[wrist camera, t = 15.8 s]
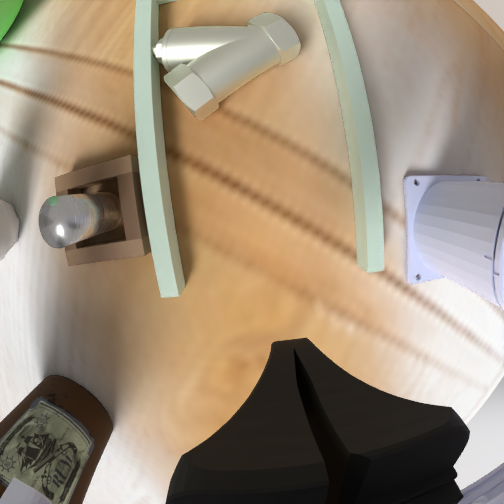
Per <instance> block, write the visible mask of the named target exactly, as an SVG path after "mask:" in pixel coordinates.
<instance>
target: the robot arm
mask: <svg viewBox="0 0 504 504" xmlns="http://www.w3.org/2000/svg"><path fill="white" fill-rule="evenodd" d="M415 179H416V181H417V185H415V184H414V180H415ZM404 195H405V211H406V281H407V282H408V283H410V284H417V283H422V282H426V281H431V280H436V279H440V278H445V277H446V278H448V279H449V280H451V281H453V282H455V283H457V284H459V285H461V286H463V287H465V288H466V289H468V290H470V291H472V292H474V293H476V294H477V295H479V296H481V297H483V298H485V299H486V300H488V301H490V302H492V303H493V304H495V305H497V306H499V307H500V308H502V309H503V310H504V182H488V179H487V177H486V176H461V175H416V176H406V177H405V178H404ZM418 274H419V276H418V278H417V279H416V276H417V275H418ZM469 434H470V431H469V429H468V427H467V426H466V425H465V423H464V422H463V421H462V419H461V418H460V417H459V415H458V414H457V413H456V412H455V411H454V410H453V409H452V407H445V406H437V405H430V404H424V403H419V402H415V401H411V400H407V399H404V398H400V397H397V396H394V395H392V394H389V393H386V392H384V391H381V390H379V389H377V388H374V387H372V386H370V385H368V384H366V383H364V382H363V381H361V380H359V379H357V378H355V377H354V376H352V375H350V374H349V373H348V372H346V371H345V370H343V369H342V368H340V367H339V366H338V365H337V364H335V363H334V362H333V361H332V360H330V359H329V358H328V357H327V356H326V355H325V354H323V353H322V352H321V351H320V350H319V349H318V348H317V347H316V346H315V345H314V344H313V343H312V342H311V341H310V340H309V339H307V338H301V339H293V340H284V341H276V342H273V343H272V344H271V352H270V355H269V359H268V361H267V364H266V366H265V369H264V371H263V373H262V375H261V377H260V379H259V381H258V383H257V384H256V386H255V388H254V389H253V391H252V393H251V394H250V396H249V397H248V398H247V400H246V401H245V402H244V404H243V405H242V406H241V407H240V409H239V410H238V411H237V412H236V413H235V414H234V415H233V416H232V418H231V419H230V420H229V421H228V422H227V423H226V424H224V425H223V426H222V427H221V428H220V429H219V430H218V431H216V432H215V433H214V434H213V435H212V436H211V437H209V438H208V439H207V440H205V441H204V442H202V443H201V444H199V445H198V446H196V447H195V448H193V449H192V450H190V451H189V452H187V453H185V454H183V455H182V456H181V458H180V460H179V462H178V464H177V466H176V469H175V471H174V473H173V476H172V478H171V481H170V485H169V490H168V494H167V499H166V504H504V463H502V464H501V465H500V466H498V467H497V468H496V469H494V470H493V471H491V472H490V473H488V474H487V475H485V476H484V477H482V478H481V479H479V480H478V481H476V482H474V483H473V484H471V485H469V486H468V487H466V488H464V489H462V490H461V491H460V489H459V487H458V485H457V484H456V482H455V480H454V479H455V478H456V477H457V472H456V470H455V469H454V467H453V466H454V464H455V463H456V461H457V459H458V458H459V456H460V455H461V453H462V452H463V450H464V448H465V446H466V444H467V442H468V439H469ZM0 504H52V503H51V502H50V501H49V500H48V499H47V498H46V497H45V496H44V495H43V494H42V493H40V492H39V491H37V490H36V489H34V488H32V487H31V486H29V485H27V484H25V483H23V482H22V481H20V480H18V479H16V478H13V480H12V481H11V483H10V484H9V486H8V487H7V489H6V490H5V492H4V494H3V495H2V497H1V498H0Z"/></svg>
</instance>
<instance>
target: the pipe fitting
mask: <svg viewBox="0 0 504 504" xmlns="http://www.w3.org/2000/svg"><path fill="white" fill-rule="evenodd" d="M300 47H301V45H300V41H299V38H298V36H297V34H296V32H295V31H294V29H293V28H292V27H291V25H290V24H289V23H288V22H287V21H286V20H284V19H283V18H282V17H281V16H279V15H276V14H273V13H266V12H264V13H262V14H260V15H258V16H256V17H254V18H252V19H250V20H249V21H248V24H247V27H245V26H198V27H182V28H171V29H169V30H167V32H166V33H165V35H164V37H163V38H161V39H160V40H159V41H158V42H157V45H154V46H153V47H152V55H153V56H154V58H157V60H158V62H159V63H161V64H163V66H164V68H165V70H166V71H168V72H169V73H168V74H166V75H165V76H164V81H165V82H166V84H167V85H168V86H169V87H170V88H171V90H172V91H173V92H174V93H175V94H176V95H177V97H178V98H179V99H180V100H181V101H182V102H183V103H184V105H185V106H186V107H187V108H188V109H189V110H190V112H191V113H192V114H193V115H194V116H195V117H196V118H197V119H198V120H200V121H203V120H204V119H206V118H207V117H208V116H209V115H211V114H212V113H213V112H215V111H216V110H217V109H219V102H221V101H222V100H224V99H225V98H226V97H228V96H229V95H230V94H232V93H233V92H235V91H236V90H238V89H239V88H240V87H242V86H243V85H245V84H246V83H248V82H249V81H251V80H252V79H254V78H255V77H257V76H259V75H260V74H262V73H263V72H265V71H266V70H268V69H270V68H271V67H273V66H274V65H276V64H277V65H281V66H283V65H284V64H286V63H288V62H289V61H291V60H293V59H294V58H296V57H297V56H298V54H299V51H300Z"/></svg>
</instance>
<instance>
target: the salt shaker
mask: <svg viewBox="0 0 504 504" xmlns="http://www.w3.org/2000/svg"><path fill="white" fill-rule="evenodd" d="M19 223H20V221H19V219H18V217H17V214H16V212H15V210H14V207H13V205H11V204H9V203H7V202H5V201H3V200H1V199H0V261H1V260H2V259H3V258H4V257H5V255H6V254H7V252H8V251H9V250H10V249H11V248H12V247H13V246H14V244H15V243H16V242H17V241H18V232H19Z"/></svg>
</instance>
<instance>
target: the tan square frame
mask: <svg viewBox="0 0 504 504" xmlns="http://www.w3.org/2000/svg"><path fill="white" fill-rule="evenodd" d="M115 179H117V180H118V189H119V197H120V204H121V211H122V217H123V224H124V230H125V235H126V238H123V239H117V240H111V241H105V242H99V243H93V244H89V241H88V238H87V239H85V240H82V241H79V242H76V243H74V244H71V245H68V246H66V247H65V251H66V256H67V261H68V265H69V266H72V265H79V264H86V263H94V262H101V261H108V260H116V259H123V258H131V257H138V256H145V255H147V254H148V253H150V252H151V245H150V240H149V234H148V228H147V222H146V215H145V208H144V201H143V194H142V186H141V178H140V169H139V160H138V157H137V156H133V155H127V156H123V157H120V158H116V159H112V160H109V161H105V162H102V163H98V164H95V165H92V166H88V167H85V168H82V169H79V170H76V171H73V172H70V173H67V174H64V175H61V176H58V177H55V185H56V195H57V196H62V195H73V194H81V188H85V187H89V186H92V185H96V184H100V183H103V182H107V181H111V180H115Z"/></svg>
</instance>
